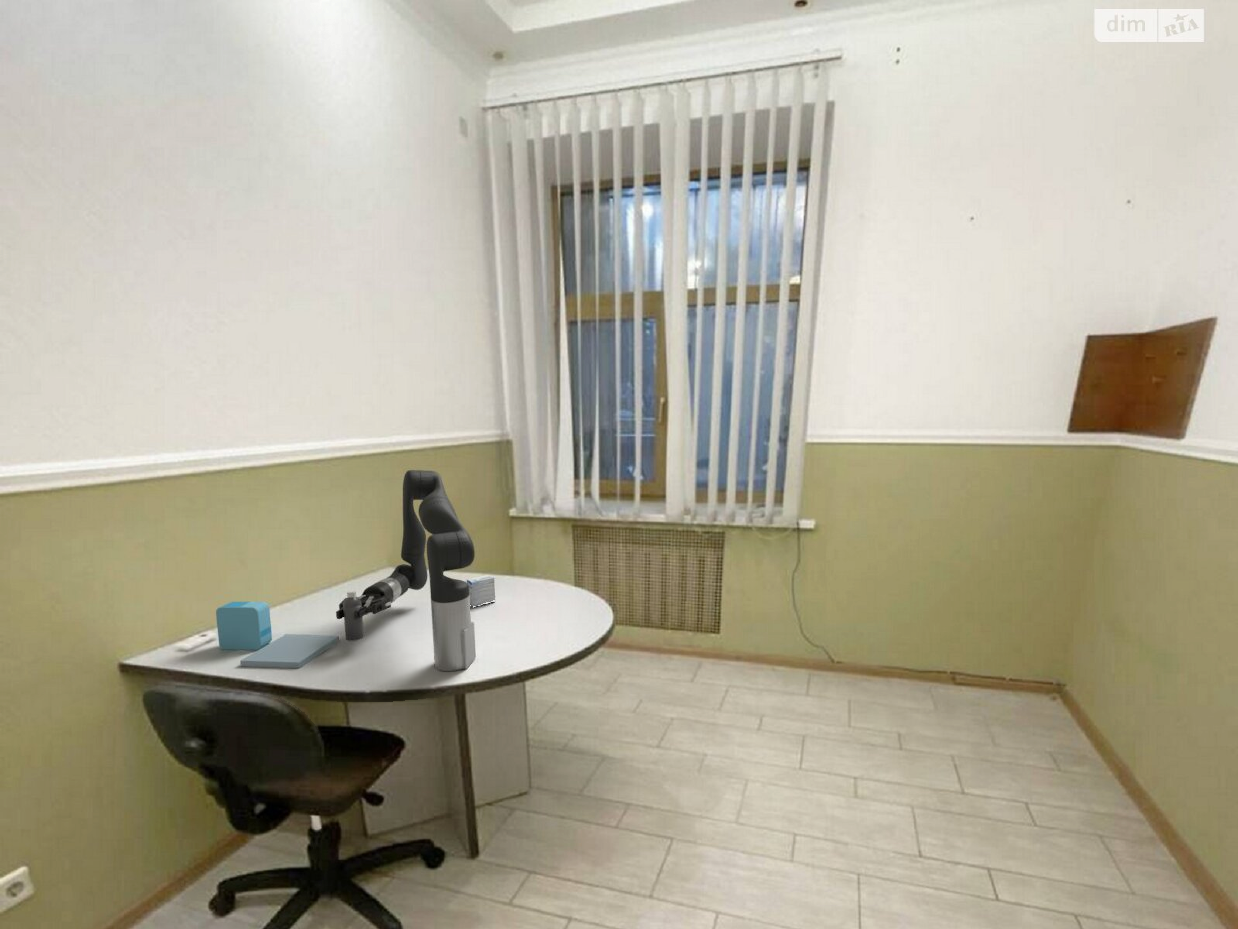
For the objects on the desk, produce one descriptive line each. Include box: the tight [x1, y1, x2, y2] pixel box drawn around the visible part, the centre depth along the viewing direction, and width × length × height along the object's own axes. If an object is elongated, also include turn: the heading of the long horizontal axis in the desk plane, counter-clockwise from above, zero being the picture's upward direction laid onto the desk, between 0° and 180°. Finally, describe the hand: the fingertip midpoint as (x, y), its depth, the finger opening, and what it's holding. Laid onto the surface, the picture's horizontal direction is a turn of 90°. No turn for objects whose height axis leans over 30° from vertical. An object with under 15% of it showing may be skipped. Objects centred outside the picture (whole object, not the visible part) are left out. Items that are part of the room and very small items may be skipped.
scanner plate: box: [239, 633, 340, 669], centre depth 141 cm, size 16×16×2 cm
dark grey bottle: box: [343, 590, 365, 642], centre depth 141 cm, size 4×4×12 cm
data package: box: [215, 601, 273, 651], centre depth 145 cm, size 12×4×12 cm, turn 86°
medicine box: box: [466, 574, 496, 607], centre depth 174 cm, size 8×4×9 cm, turn 130°
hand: (346, 615), depth 138 cm, fingers closed on dark grey bottle, 4 cm apart
